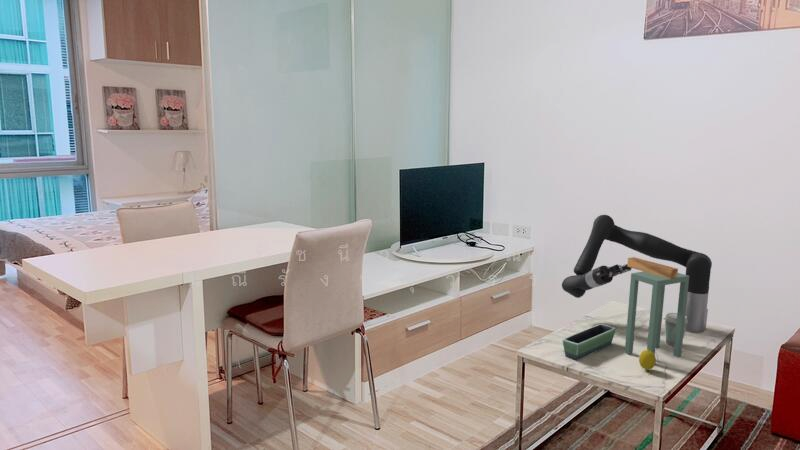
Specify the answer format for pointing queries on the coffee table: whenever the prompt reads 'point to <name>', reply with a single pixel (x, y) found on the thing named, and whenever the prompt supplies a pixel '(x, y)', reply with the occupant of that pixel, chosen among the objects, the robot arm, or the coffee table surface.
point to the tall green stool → (656, 310)
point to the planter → (588, 341)
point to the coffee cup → (672, 327)
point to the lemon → (647, 359)
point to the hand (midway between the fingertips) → (626, 265)
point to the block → (652, 268)
